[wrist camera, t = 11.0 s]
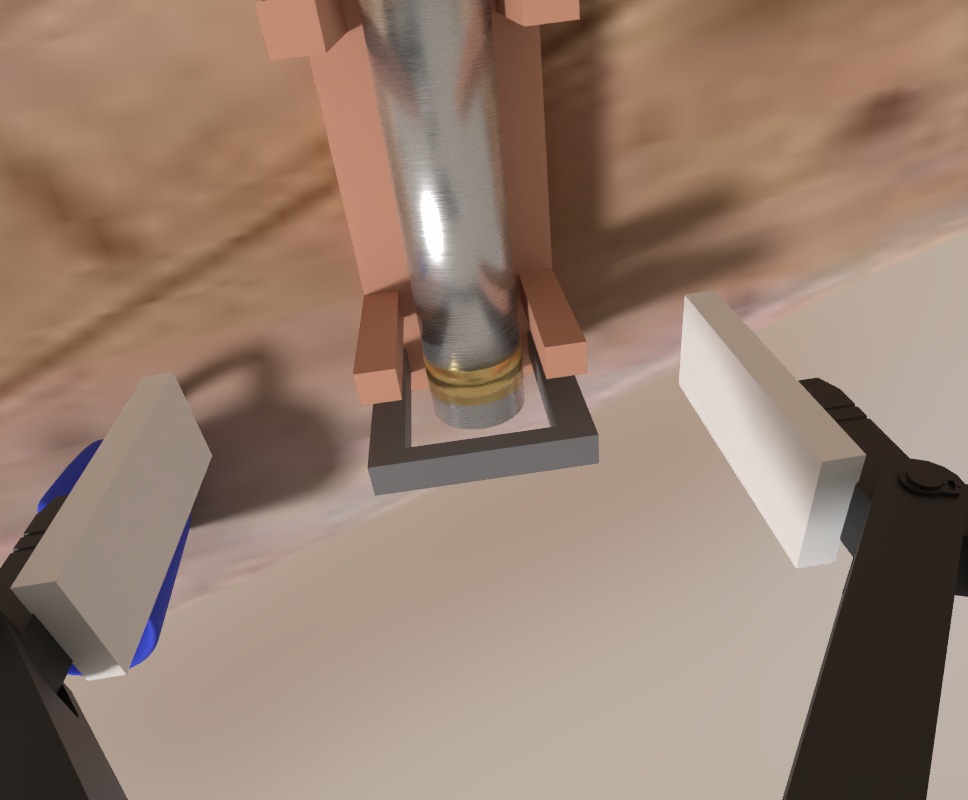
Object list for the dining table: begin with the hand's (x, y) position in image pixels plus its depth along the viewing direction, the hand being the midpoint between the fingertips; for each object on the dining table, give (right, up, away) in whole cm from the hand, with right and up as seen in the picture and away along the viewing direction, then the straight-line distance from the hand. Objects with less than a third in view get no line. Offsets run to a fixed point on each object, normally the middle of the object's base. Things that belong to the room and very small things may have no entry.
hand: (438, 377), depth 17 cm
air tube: (-1, +9, +15) cm, 17 cm away
